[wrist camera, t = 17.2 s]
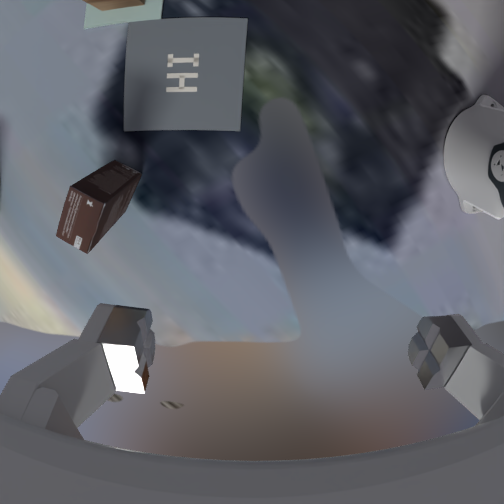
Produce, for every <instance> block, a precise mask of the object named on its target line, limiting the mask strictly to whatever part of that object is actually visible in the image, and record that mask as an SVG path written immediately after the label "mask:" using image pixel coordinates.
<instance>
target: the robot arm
mask: <svg viewBox="0 0 504 504" xmlns="http://www.w3.org/2000/svg"><path fill="white" fill-rule="evenodd" d="M444 166H445V171H446V175H447V178H448V180H449V183H450V184H451V186H452V188H453V189H454V190H455V192H456V193H457V195H458V197H459V201H460V206H461V209H462V211H463V212H465V213H467V214H472V213H480V212H485V213H487V214H489V215H490V216H492V217H494V218H496V219H501V218H504V107H503V106H502V105H500V104H499V103H498V102H497V101H495V100H494V99H493V98H492V97H490V96H488V95H482V96H480V98H479V99H478V100H477V102H476V103H475V105H473V106H472V107H470V108H468V109H466V110H464V111H463V112H461V113H460V114H459V115H458V116H457V117H456V118H455V120H454V121H453V123H452V124H451V126H450V128H449V131H448V133H447V136H446V140H445V146H444ZM152 321H153V320H152V314H151V311H150V309H144V308H136V307H127V306H120V305H110V304H102V303H101V304H99V305H97V307H96V309H95V310H94V312H93V314H92V316H91V317H90V319H89V321H88V323H87V325H86V326H85V328H84V330H83V332H82V334H81V336H80V337H79V339H78V340H77V339H73V340H71V341H70V342H68V343H66V344H65V345H63V346H61V347H59V348H58V349H56V350H54V351H53V352H51V353H49V354H47V355H46V356H44V357H42V358H41V359H39V360H38V361H36V362H34V363H32V364H31V365H29V366H27V367H26V368H24V369H22V370H21V371H19V372H17V373H16V374H14V375H12V376H11V377H10V379H9V381H8V383H7V384H6V386H5V388H4V390H3V391H2V393H1V395H0V504H504V354H503V353H502V352H500V351H498V350H496V349H495V348H493V347H492V346H490V345H488V344H483V342H482V341H481V340H480V338H479V337H478V336H477V334H476V333H475V332H474V330H473V329H472V328H471V326H470V325H469V324H468V322H467V321H466V320H465V319H464V317H463V316H461V315H459V314H453V315H447V316H428V317H423V318H422V319H421V320H420V321H419V323H418V325H417V329H418V333H416V335H414V336H413V337H412V339H411V341H410V344H409V349H408V356H409V360H410V362H411V364H412V366H414V367H415V368H417V369H418V373H417V376H418V378H419V380H420V382H421V384H422V386H423V388H424V390H428V389H435V388H442V387H445V389H446V390H447V391H448V392H449V393H450V394H451V395H452V396H454V397H455V398H456V399H457V400H458V401H459V402H460V403H461V404H462V405H464V406H465V407H466V408H467V409H468V410H469V411H470V412H471V413H472V414H473V415H475V416H476V417H477V418H478V419H479V420H480V421H479V422H478V423H477V424H476V425H475V426H474V427H471V428H468V429H465V430H462V431H459V432H455V433H452V434H449V435H445V436H442V437H438V438H434V439H430V440H426V441H422V442H418V443H414V444H409V445H405V446H400V447H395V448H390V449H384V450H379V451H373V452H367V453H360V454H353V455H345V456H337V457H327V458H316V459H304V460H284V461H228V460H209V459H196V458H185V457H175V456H167V455H159V454H152V453H145V452H139V451H133V450H128V449H122V448H117V447H112V446H107V445H103V444H98V443H94V442H90V441H86V440H84V439H83V437H82V436H81V434H80V432H79V431H78V429H77V428H78V427H79V426H80V425H81V424H82V423H83V422H84V421H85V420H86V419H87V418H88V417H89V416H91V415H92V413H94V412H95V411H96V410H97V409H98V408H99V407H100V406H101V405H102V404H104V403H105V402H106V401H107V400H108V399H109V398H110V397H111V396H112V395H113V394H114V393H115V392H116V390H119V391H127V392H134V393H145V391H146V387H147V383H148V379H149V371H148V367H150V366H151V365H152V364H153V360H154V354H155V335H154V332H153V331H152V330H151V329H150V328H151V325H152Z"/></svg>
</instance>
